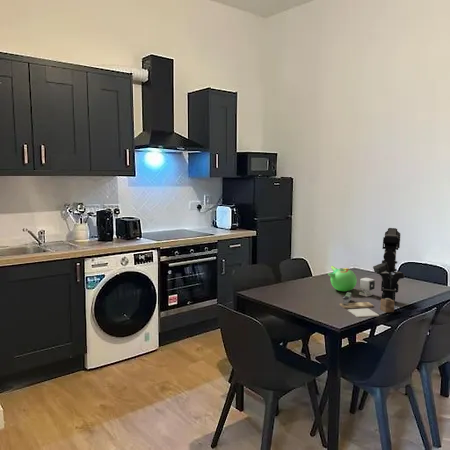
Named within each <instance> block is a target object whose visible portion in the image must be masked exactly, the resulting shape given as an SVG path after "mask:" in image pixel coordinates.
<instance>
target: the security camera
mask: <svg viewBox="0 0 450 450" xmlns="http://www.w3.org/2000/svg"><path fill="white" fill-rule="evenodd" d="M359 281H360V282H359V289H360V290H362V291H359V292H358V295H360V296H361V297H362V296H363V297H371V296H373V293H372V291H375V289H376V279H375V278H374V279H373V278H371V277H370V278H369V277H363V278H360V280H359ZM370 291H371V292H370Z"/></svg>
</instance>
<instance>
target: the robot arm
mask: <svg viewBox="0 0 450 450" xmlns="http://www.w3.org/2000/svg"><path fill="white" fill-rule="evenodd" d="M400 243H401V232H399V231H398V228H395V227H389V228H387V230H386V231H385V233H384V236H383V238H382V250H384V254H383V259H382V260H381V263H378V264H375V265H374V266H373V267H372V268H373V271H374V274H377V275H379V276H380V278H381V286H380V287H381V290H380V291H381V292H382V293H381V299H385V298H390V299H391V300H393V301H395V302H394V304H396V303H397V301H396V293H399V284H398V282H399V281H400V280H401V279H405V274H404V272H401V271H398V270H397V268H396V265H397V264H398V261H397V251H398V250H399V249H400V247H401V245H400Z"/></svg>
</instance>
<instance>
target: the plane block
mask: <svg viewBox="0 0 450 450" xmlns="http://www.w3.org/2000/svg"><path fill="white" fill-rule="evenodd" d="M339 306H340V307H341V308H343V309H365V308H374V304H372V303H371V302H368V301H361V302H349V304H348V305H346V304H343V302H342V303H340V302H339Z"/></svg>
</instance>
